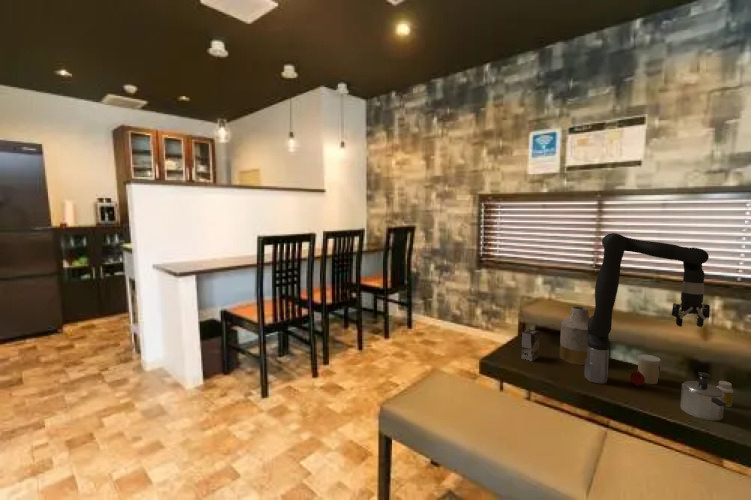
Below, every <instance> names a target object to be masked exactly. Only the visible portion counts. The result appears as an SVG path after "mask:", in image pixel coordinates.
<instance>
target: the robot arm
mask: <svg viewBox="0 0 751 500" xmlns="http://www.w3.org/2000/svg"><path fill="white" fill-rule="evenodd" d="M601 245H602V247H603V259H602V264H601V265H600V268H599V271H598V274H597V277H596V282H595V287H594V288H595V289H594V301H595V302H594V303H595V304H594V313H593V315H591V316H589V317H590V319H589V320H588V333H587V339H588V349H587V359H585V366H584V375H583V376H584V378H585V379H586V380H587V381H589V382H591V383H595V384H596V383H597V384H608V383H607V382H608V376H609V375H608V374H609V373H608V372H609V359H610V358H609V357H610V356H609V355H610V342H609V340H610V339H609V337H610V336H609V334H610V333H611V331H612V327H613V326H612V324H613V323H612V319H613V310H614V307H615V303H616V300H617V299H616V298H617V293H618V288H619V284H620V276H621V264H622V261H623V257H624V254H625V252H629V253H630V252H631V253H637V254H642V255H646V256H649V257H654V258H657V259H658V258H660V259H666V260H673V261H679V262H682V263H683V264H682V265H683V276H682V277H683V278H682V279H683V280H682V283H681V284H682V285H681V293H680V303H676V302H674V303H673V304H672V310H671V316H672V317H675V324H676V326H678V327H683V318H684V317H685V316H687V315H691V314H692V315H696V316H697V317H696V318H697V320H696V326H697V327H699V328H702V327H703V326H704V320H705V319H709V318H710V316H711V315H710V314H711V313H710V312H711V310H710V309H711V305H709V304H706V303H704V293H705V272H704V270H703V264H705V263H706V262H707V261H708V260H709V258H710V257H709V256H710V255H709V253H708V252H707V251H706V250H704V249H702V248H698V247H688V246H687V247H686V246H680V245H677V244H672V243H667V242H657V241H652V240H651V241H649V240H642V239H636V238H632V237H627V236H624V235H623V234H620V233H615V232H610V233H608V234H606V235H604V236H603V238H602V240H601Z"/></svg>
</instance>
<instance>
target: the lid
mask: <svg viewBox="0 0 751 500" xmlns="http://www.w3.org/2000/svg"><path fill="white" fill-rule="evenodd" d="M697 375H698V381H697V380H685V381H686V382H684V386H685V387H686V388H687V389H688V390H690V391H693V392H695V393H698V394H701V395H706V396H712V397H719V396H722V393H723V392H722V390H720V389H719V388H717V386H715V385H712V384H709V379H710V377H711V375H710V374H709V373H707V372H702V371H698V372H697Z"/></svg>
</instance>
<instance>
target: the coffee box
mask: <svg viewBox="0 0 751 500" xmlns="http://www.w3.org/2000/svg"><path fill="white" fill-rule="evenodd" d="M521 333H522V335H521V337H522V338H521V358H520V359H521V360H525V359H526V360H525V361H528V360H529V362H533V361H535V360H537V359H538V358H539V352H540V351H539V348H540V345H539V344H540V331H539V330H536V329H531V328H529V329H526V330H524V331H523V332H521Z"/></svg>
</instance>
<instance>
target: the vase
mask: <svg viewBox="0 0 751 500" xmlns="http://www.w3.org/2000/svg"><path fill="white" fill-rule="evenodd" d="M590 317H591V316H590V314H589V309H588V307H585V306H580V305H579V306H578V305H575V306H571V309H570V312H569V315H568V317H567V318H565V319H563V320H561V322H560V338H559V339H560V340H559V341H560V342H559V358H560V359H561V360H563V361H564V362H566V363H569V364H573V365H576V366H577V365H578V366H583V367H585V359H587V349H588V339H587V333H588V320H589V319H590Z"/></svg>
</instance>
